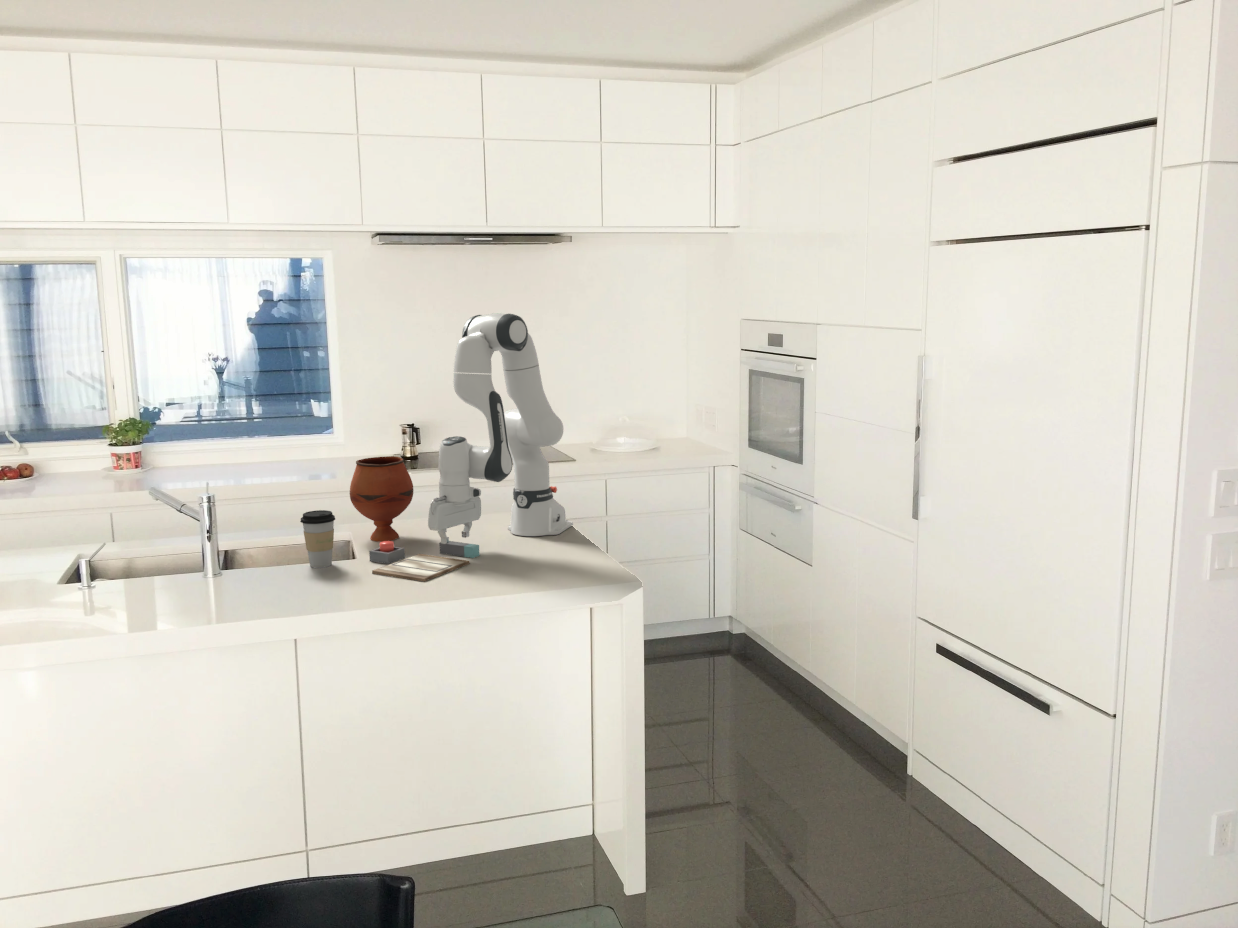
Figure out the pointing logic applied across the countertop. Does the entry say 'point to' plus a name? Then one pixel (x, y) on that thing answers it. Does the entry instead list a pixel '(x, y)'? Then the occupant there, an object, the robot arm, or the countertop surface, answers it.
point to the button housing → (387, 555)
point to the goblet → (381, 493)
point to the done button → (386, 546)
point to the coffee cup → (319, 537)
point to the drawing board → (421, 567)
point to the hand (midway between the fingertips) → (455, 540)
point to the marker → (459, 549)
